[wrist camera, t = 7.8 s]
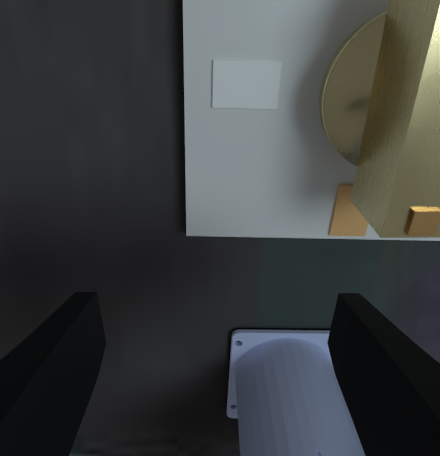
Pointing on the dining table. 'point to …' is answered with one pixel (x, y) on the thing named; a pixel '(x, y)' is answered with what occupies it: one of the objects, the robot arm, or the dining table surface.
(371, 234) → the lock plate
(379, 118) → the door handle
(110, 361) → the dining table surface
